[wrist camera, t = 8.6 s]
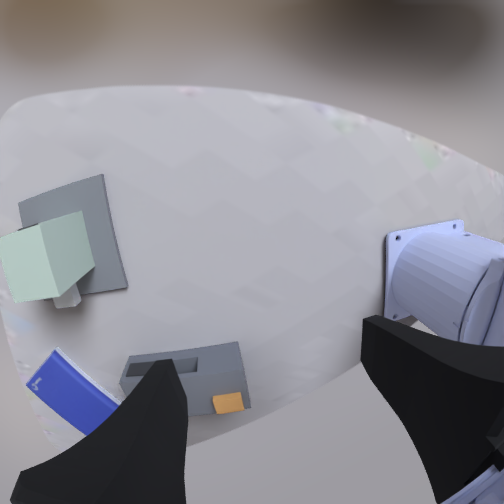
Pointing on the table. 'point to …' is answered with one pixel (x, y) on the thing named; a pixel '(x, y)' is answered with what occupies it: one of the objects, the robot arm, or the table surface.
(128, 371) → the power strip
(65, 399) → the blue book
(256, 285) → the table surface
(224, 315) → the table surface
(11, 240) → the block
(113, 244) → the mat
